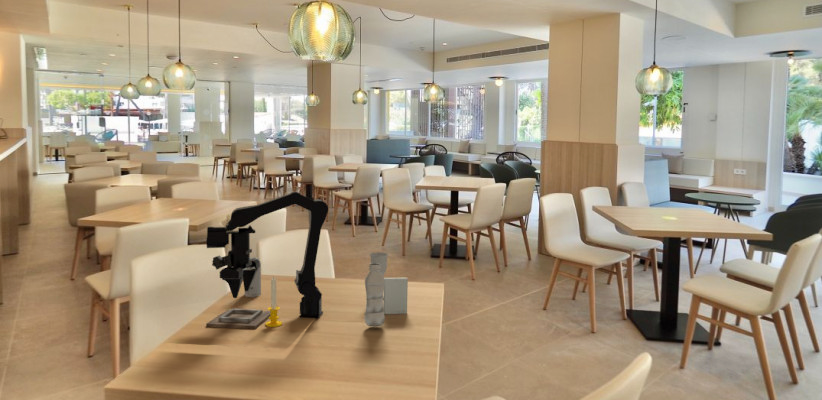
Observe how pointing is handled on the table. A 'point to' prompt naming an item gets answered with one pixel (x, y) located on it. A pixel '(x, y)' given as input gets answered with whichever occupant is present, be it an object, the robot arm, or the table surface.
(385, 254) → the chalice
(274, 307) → the candle
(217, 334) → the table surface
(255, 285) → the energy drink can
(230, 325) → the socket board
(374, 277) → the plastic bottle
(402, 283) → the external hard drive
